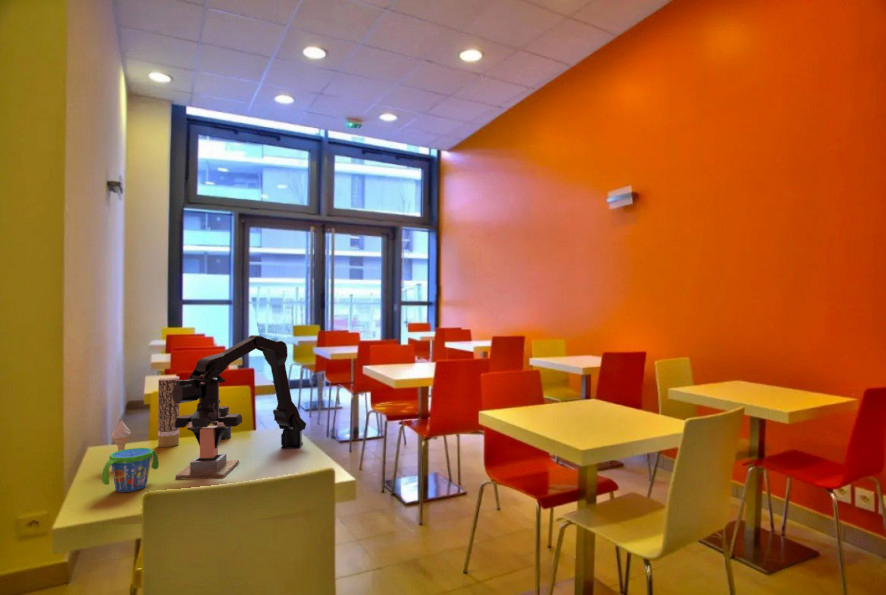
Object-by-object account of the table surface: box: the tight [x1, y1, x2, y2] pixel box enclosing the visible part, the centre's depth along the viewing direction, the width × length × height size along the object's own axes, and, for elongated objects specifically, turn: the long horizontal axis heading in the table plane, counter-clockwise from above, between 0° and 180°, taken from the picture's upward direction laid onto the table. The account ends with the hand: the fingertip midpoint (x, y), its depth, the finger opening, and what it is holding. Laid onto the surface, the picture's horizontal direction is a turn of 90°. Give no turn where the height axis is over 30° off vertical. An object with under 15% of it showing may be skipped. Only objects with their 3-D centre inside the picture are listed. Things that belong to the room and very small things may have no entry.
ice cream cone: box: [110, 419, 132, 451], centre depth 164 cm, size 6×6×15 cm
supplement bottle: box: [211, 405, 232, 441], centre depth 198 cm, size 7×7×12 cm
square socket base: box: [175, 453, 240, 480], centre depth 159 cm, size 14×14×4 cm
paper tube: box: [157, 375, 180, 448], centre depth 188 cm, size 7×7×25 cm
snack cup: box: [101, 447, 160, 493], centre depth 144 cm, size 16×10×10 cm
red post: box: [199, 425, 219, 458], centre depth 159 cm, size 4×4×9 cm
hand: (209, 448), depth 159 cm, fingers closed on red post, 4 cm apart
